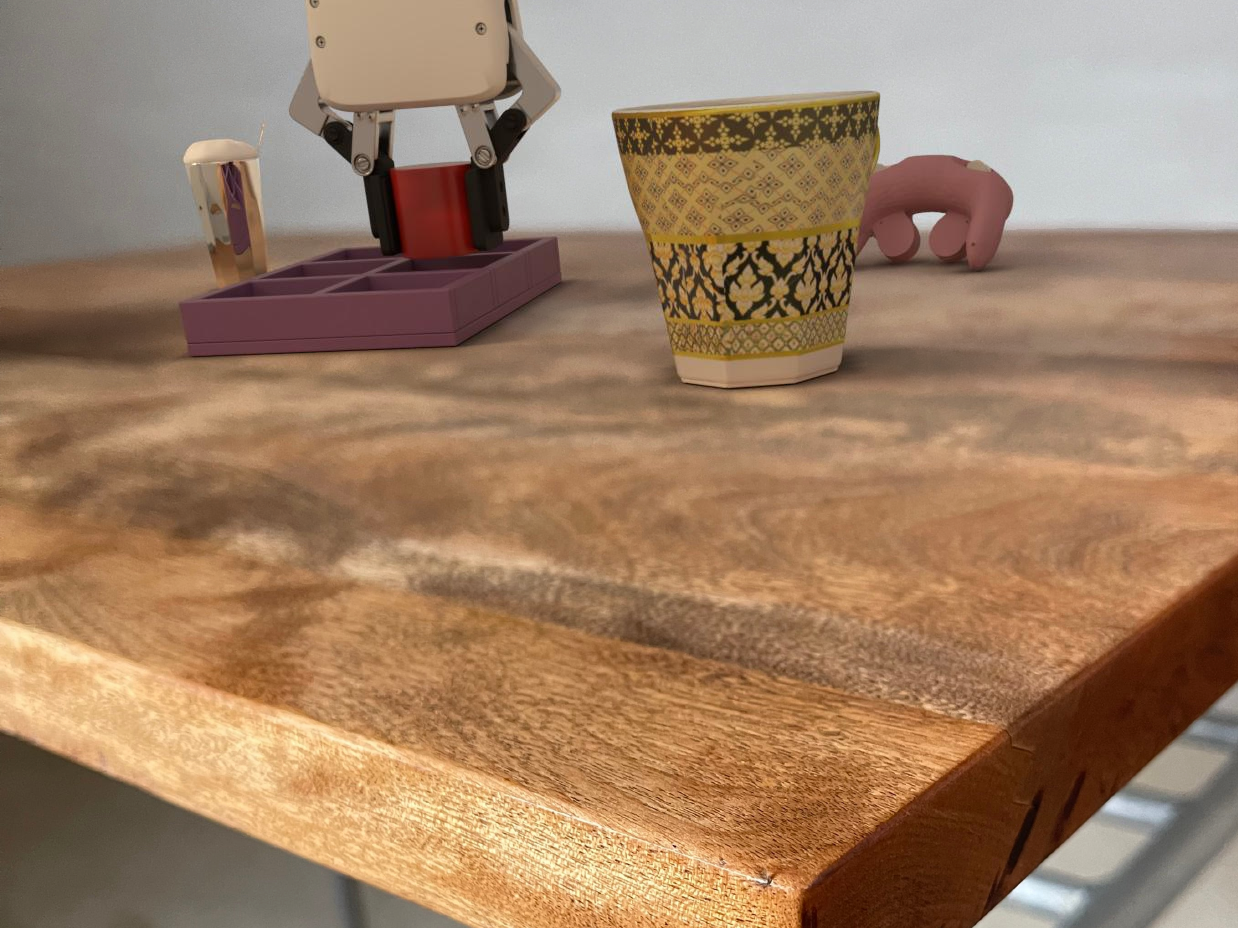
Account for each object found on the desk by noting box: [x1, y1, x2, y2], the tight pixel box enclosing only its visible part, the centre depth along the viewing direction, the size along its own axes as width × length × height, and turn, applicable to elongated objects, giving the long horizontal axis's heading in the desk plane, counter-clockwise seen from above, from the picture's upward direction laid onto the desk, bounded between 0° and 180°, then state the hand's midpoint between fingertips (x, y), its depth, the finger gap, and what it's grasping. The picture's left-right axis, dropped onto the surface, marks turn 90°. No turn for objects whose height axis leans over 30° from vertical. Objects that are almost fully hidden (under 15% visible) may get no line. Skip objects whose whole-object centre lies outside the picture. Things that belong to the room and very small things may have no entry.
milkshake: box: [182, 118, 270, 289], centre depth 91 cm, size 4×5×10 cm
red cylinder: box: [390, 160, 482, 259], centre depth 75 cm, size 4×4×4 cm
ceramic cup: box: [610, 90, 881, 389], centre depth 56 cm, size 13×10×10 cm
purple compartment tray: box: [178, 236, 563, 357], centre depth 77 cm, size 20×14×3 cm
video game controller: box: [856, 154, 1014, 272], centre depth 80 cm, size 10×5×7 cm, turn 59°
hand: (443, 246), depth 75 cm, fingers closed on red cylinder, 4 cm apart
